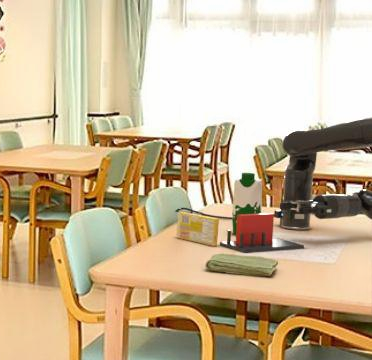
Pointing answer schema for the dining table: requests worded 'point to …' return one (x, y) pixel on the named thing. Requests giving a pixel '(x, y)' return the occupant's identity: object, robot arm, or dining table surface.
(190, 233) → the candy box
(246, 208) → the milk carton
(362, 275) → the dining table surface
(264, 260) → the washcloth
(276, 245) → the dish rack
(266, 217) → the red rectangular block
